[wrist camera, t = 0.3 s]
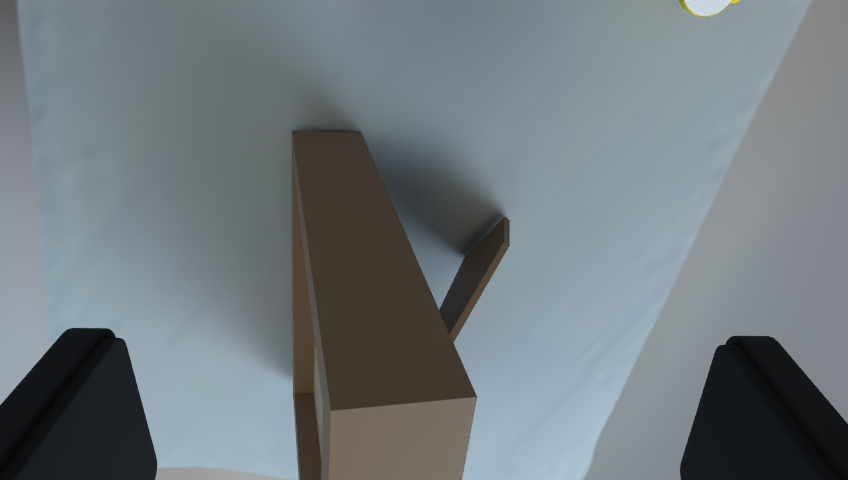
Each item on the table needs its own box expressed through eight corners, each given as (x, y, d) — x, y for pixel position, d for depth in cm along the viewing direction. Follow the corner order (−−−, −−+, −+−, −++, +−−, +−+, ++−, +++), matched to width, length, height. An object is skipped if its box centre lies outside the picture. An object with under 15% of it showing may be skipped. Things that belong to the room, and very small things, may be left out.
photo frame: (295, 385, 49) (191, 767, 27) (294, 125, 39) (127, 396, 17) (476, 398, 50) (520, 780, 28) (522, 146, 40) (649, 433, 17)
